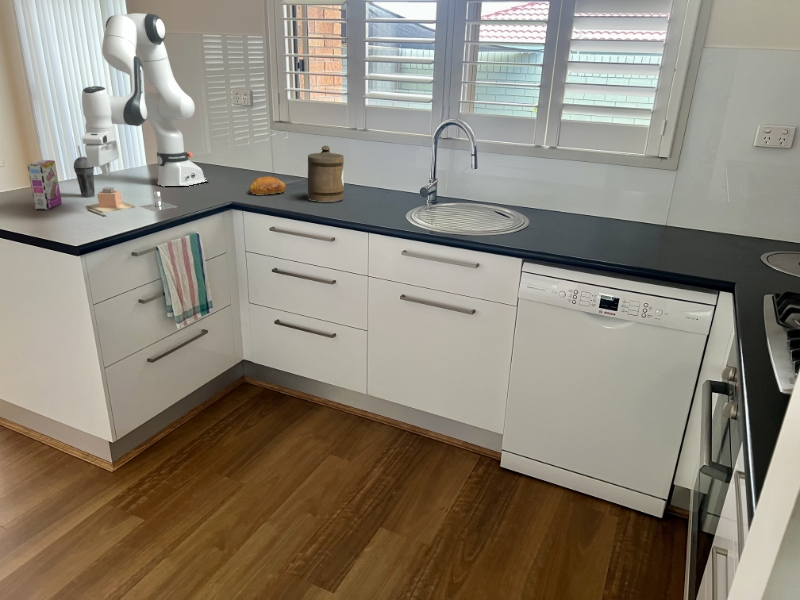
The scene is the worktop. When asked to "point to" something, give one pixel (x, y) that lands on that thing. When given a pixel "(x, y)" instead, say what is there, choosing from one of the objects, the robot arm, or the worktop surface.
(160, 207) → the rod stand
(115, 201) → the collar
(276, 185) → the croissant
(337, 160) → the wooden container
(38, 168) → the candy bar box
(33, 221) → the worktop surface
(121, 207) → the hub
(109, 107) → the robot arm
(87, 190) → the beverage cup
